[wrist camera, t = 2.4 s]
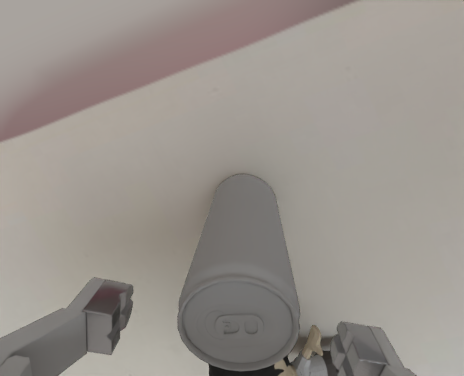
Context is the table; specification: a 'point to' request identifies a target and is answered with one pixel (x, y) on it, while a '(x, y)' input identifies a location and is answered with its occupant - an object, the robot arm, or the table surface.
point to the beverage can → (240, 282)
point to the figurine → (293, 363)
